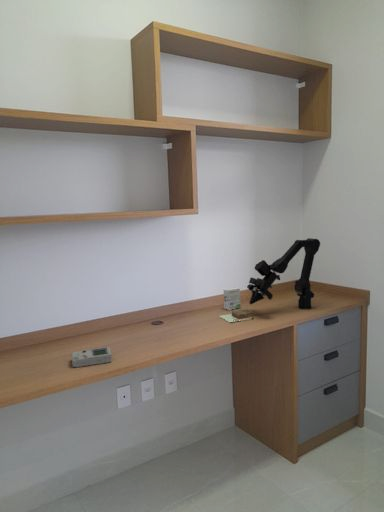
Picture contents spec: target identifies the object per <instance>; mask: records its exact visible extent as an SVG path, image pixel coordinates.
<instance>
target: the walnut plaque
mask: <svg viewBox="0 0 384 512" xmlns="http://www.w3.org/2000/svg"><path fill="white" fill-rule="evenodd" d="M231 314H232V316H233V317H235V318H237V319H245V318H251V317H252V318H254V317H255V312H253V311H251V310H249V309H248V308H245V309H236V310H231Z"/></svg>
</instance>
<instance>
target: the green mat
mask: <svg viewBox="0 0 384 512" xmlns="http://www.w3.org/2000/svg"><path fill="white" fill-rule="evenodd" d="M218 317H219V318H221V319H222V318H223V320H224V319H225V322H227V321H228V322H227V323H229V322H233V320H234V319H236V318H234V319H233V316H232V313H229V314H223V315H218ZM240 320H241V319H240ZM240 320H239V321H240ZM243 320H244V319H243ZM234 321H235V320H234Z"/></svg>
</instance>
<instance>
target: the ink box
mask: <svg viewBox="0 0 384 512" xmlns="http://www.w3.org/2000/svg"><path fill="white" fill-rule="evenodd" d="M223 308H224V310H226V309H227V310H226V311H233V310H232V309H234V310H237V309H236V308H239V309H241V289H240V288H239V287H231V288H225V289H223Z"/></svg>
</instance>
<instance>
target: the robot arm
mask: <svg viewBox="0 0 384 512" xmlns="http://www.w3.org/2000/svg"><path fill="white" fill-rule="evenodd" d="M320 247H321V242H320V240H319V239H318V238H306V239H301V240H300V239H296V240H294V243H293V244H292V245H291V246H290V247H289V249H287V251H286V252H285V253H284V254H283V255H282V256H281V257H279V258H277V259H276V260H274V261H273V262H272V263H271V264H268V263H267V261H266V260H264V259H261V261H259V262H257V263H256V264H255V266H254V270H255V271H256V272H258V274H259V275H260V276H262V277H263V278H259V277H257V278H254V277H250V279H249V282H248V285H247V286H246V287H247V289H248V290H249V291H250V292H251V297H250V299H249V302H248V303H249V305H253V304H255V303H257V302H259V301H262V300H264V299H265V296H266V297H267V299H268V300H270V301H271V300H272V299H273V297H274V296H273V294H272V292H270V291H269V289H272V288H273V286H272V285H273V284H274V283H275V281H276V280H277V281H281V275H280V274H284V273H285V271H286V270H287V268H288V266H289V263H290V262H291V261H292V260H293V259H294V257H295V256H297V254H298V252H300V251H301V249H303V250H304V253H305V254H304V258H303V263H302V269H301V273H300V278H299V279H298V280H295V282H294V286H293V288H294V291H295V293H296V295H297V296H298V297H299V298H298V299H297V301H298V305H297V306H298V307H299V309H302V308H311V309H312V307H313V306H312V299H313V298H314V297H315V292H313V291H312V290H311V283H310V278H311V272H312V269H313V265H314V264H313V263H314V260H315V259H314V258H315V255H316V254H317V253H318V252H319V250H320Z"/></svg>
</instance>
